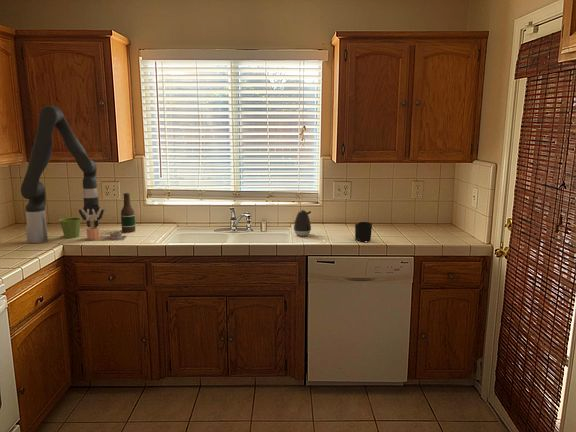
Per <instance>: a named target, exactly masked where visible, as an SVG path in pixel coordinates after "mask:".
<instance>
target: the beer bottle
mask: <svg viewBox="0 0 576 432" xmlns="http://www.w3.org/2000/svg"><path fill="white" fill-rule="evenodd" d="M122 196H123V207H122V209H121V210H120V222H121V233H124V234H126V233H127V234H130V233H135V232H136V217H135V216H136V215H135V211H134V209H133V207H132V206H131V205H132V204H131V198H130V197H131V193H129V192H126V193H125V192H124V193H122Z"/></svg>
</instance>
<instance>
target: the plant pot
mask: <svg viewBox="0 0 576 432" xmlns="http://www.w3.org/2000/svg"><path fill="white" fill-rule="evenodd" d="M82 220H83V218H82V217H79V216H78V217H75V216H73V217H72V216H71V217H64V218H61V219H58V222H59V223H60V226H61V229H62V232H63V236H64V239H77V238H79V237H80V231H81V222H82Z"/></svg>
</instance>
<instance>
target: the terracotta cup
mask: <svg viewBox="0 0 576 432" xmlns="http://www.w3.org/2000/svg"><path fill="white" fill-rule="evenodd" d="M100 236H101V231H100V227H99V226H97V227H95V229H91V227H87V228H86V239H88V240H97V239H100Z"/></svg>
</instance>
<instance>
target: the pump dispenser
mask: <svg viewBox="0 0 576 432" xmlns="http://www.w3.org/2000/svg"><path fill="white" fill-rule="evenodd" d="M311 213H312V211H311V210H309V211H306V210H303V209H302V210H301V209H300V210H299V211H298V212H297V215H296V216H295V219H294V224H293V230H294V233H295V235H296V236H298V235H299V236H298V237H307V236H309V234H310V232H311V230H312V225H311V220H310V217H309V214H311Z"/></svg>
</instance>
